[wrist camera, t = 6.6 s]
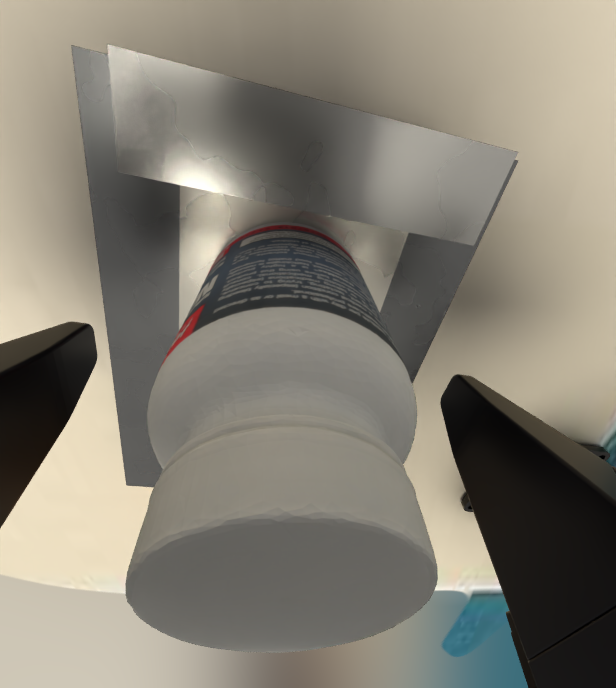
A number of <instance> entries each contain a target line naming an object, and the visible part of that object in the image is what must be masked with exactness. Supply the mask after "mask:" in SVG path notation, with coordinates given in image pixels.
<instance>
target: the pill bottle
mask: <svg viewBox="0 0 616 688" xmlns="http://www.w3.org/2000/svg"><path fill="white" fill-rule="evenodd" d="M147 422H148V433H149V437H150V441H151V445H152V448H153V450H154V453H155V455H156V457H157V460H158V462H159V463H160V465H161V467H162V468H163V470H162V473H161V475H160V477H159V480H158V481H157V482H156V484H155V486H154V489H153V491H152V494H151V497H150V500H149V505H148V510H147V513H146V516H145V519H144V522H143V525H142V528H141V531H140V534H139V537H138V540H137V543H136V546H135V549H134V552H133V556H132V559H131V562H130V565H129V568H128V572H127V578H126V597H127V602H128V603H129V604H130V605H131V606H132V608H133V610H134V612H135V613H136V615H137V616H139V618H140V619H142V620H143V621H144V622H146V623H147V624H149V625H150V626H152V627H153V628H155V629H157V630H159V631H160V632H162V633H165V634H167V635H169V636H171V637H174V638H176V639H179V640H181V641H185V642H188V643H192V644H196V645H200V646H205V647H211V648H217V649H225V650H234V651H243V652H266V653H276V652H277V653H278V652H293V651H306V650H312V649H319V648H325V647H331V646H336V645H341V644H345V643H350V642H353V641H357V640H361V639H364V638H367V637H371V636H374V635H376V634H378V633H381V632H383V631H386V630H388V629H390V628H393V627H394V626H396V625H397V624H399V623H401V622H403V621H404V620H406V619H408V618H409V617H411V616H412V615H414V614H415V613H416V612H417V611H418V610H420V609H421V608H422V607H423V606H424V605H425V604H426V603H427V602H428V601H429V599H430V598H431V596H432V594H433V592H434V590H435V587H436V585H437V579H438V577H437V564H436V559H435V555H434V551H433V548H432V545H431V541H430V538H429V535H428V532H427V529H426V525H425V522H424V519H423V516H422V513H421V510H420V507H419V504H418V501H417V498H416V493H415V490H414V487H413V485H412V483H411V481H410V479H409V478H408V476H407V474H406V471H405V468H404V466H403V464H404V462H405V460H406V458H407V456H408V454H409V452H410V449H411V446H412V443H413V440H414V435H415V429H416V422H417V406H416V399H415V394H414V390H413V386H412V383H411V381H410V377H409V374H408V371H407V369H406V367H405V364H404V362H403V360H402V358H401V356H400V354H399V352H398V350H397V348H396V345H395V343H394V341H393V339H392V337H391V335H390V333H389V331H388V329H387V327H386V325H385V322H384V320H383V318H382V316H381V314H380V312H379V310H378V308H377V306H376V304H375V302H374V300H373V297H372V295H371V293H370V291H369V289H368V287H367V285H366V283H365V281H364V279H363V276H362V274H361V272H360V270H359V268H358V266H357V265H356V263H355V261H354V260H353V258H352V257H351V255H350V254H349V252H348V251H347V250H346V249H345V248H344V247H343V246H342V245H341V244H340V243H339V242H338V241H337V240H335V239H334V238H333V237H331V236H330V235H328V234H326V233H324V232H323V231H321V230H318V229H316V228H313V227H311V226H308V225H303V224H299V223H291V222H277V223H270V224H265V225H261V226H258V227H255V228H252V229H250V230H248V231H246V232H244V233H242V234H240V235H239V236H237V237H236V238H235V239H233V240H232V241H231V242H230V243H229V244H228V245H227V246H225V247H224V249H223V250H222V251H221V252H220V254H219V255H218V257H217V258H216V260H215V261H214V263H213V265H212V266H211V268H210V271H209V273H208V275H207V277H206V279H205V281H204V283H203V284H202V287H201V289H200V291H199V293H198V295H197V297H196V299H195V301H194V303H193V305H192V307H191V309H190V311H189V313H188V315H187V317H186V319H185V321H184V323H183V325H182V327H181V329H180V330H179V332H178V334H177V336H176V338H175V340H174V342H173V344H172V345H171V347H170V349H169V351H168V353H167V355H166V357H165V359H164V361H163V363H162V365H161V368H160V370H159V372H158V375H157V377H156V380H155V383H154V385H153V388H152V391H151V395H150V399H149V403H148V411H147Z"/></svg>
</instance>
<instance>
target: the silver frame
mask: <svg viewBox="0 0 616 688" xmlns="http://www.w3.org/2000/svg"><path fill="white" fill-rule="evenodd" d="M71 47H72V55H73V63H74V71H75V79H76V87H77V95H78V103H79V111H80V119H81V127H82V135H83V143H84V151H85V159H86V167H87V175H88V183H89V191H90V199H91V207H92V215H93V223H94V231H95V239H96V247H97V255H98V263H99V271H100V279H101V287H102V295H103V303H104V311H105V319H106V327H107V335H108V343H109V351H110V359H111V367H112V375H113V383H114V391H115V399H116V407H117V415H118V423H119V431H120V439H121V446H122V454H123V462H124V470H125V478H126V485H128V486H143V487H154V486H155V484H156V482H157V481H158V480H159V477H160V475H161V473H162V470H163V468H162V467H161V465H160V463H159V462H158V460H157V457H156V455H155V453H154V450H153V448H152V445H151V441H150V437H149V433H148V422H147V411H148V403H149V399H150V395H151V391H152V388H153V385H154V383H155V380H156V377H157V375H158V372H159V370H160V368H161V365H162V363H163V361H164V359H165V357H166V355H167V353H168V351H169V349H170V347H171V345H172V344H173V342H174V340H175V338H176V336H177V334H178V332H179V330H180V329H181V327H182V325H183V323H184V321H185V319H186V317H187V315H188V313H189V311H190V309H191V307H192V305H193V303H194V301H195V299H196V297H197V295H198V293H199V291H200V289H201V287H202V284H203V283H204V281H205V279H206V277H207V275H208V273H209V271H210V268H211V266H212V265H213V263H214V261H215V260H216V258H217V257H218V255H219V254H220V252H221V251H222V250H223V249H224V247H225V246H227V245H228V244H229V243H230V242H231V241H232V240H233V239H235V238H236V237H237V236H239V235H240V234H242V233H244V232H246V231H248V230H250V229H252V228H255V227H258V226H261V225H265V224H270V223H277V222H291V223H299V224H303V225H308V226H311V227H313V228H316V229H318V230H321V231H323V232H324V233H326V234H328V235H330V236H331V237H333V238H334V239H335V240H337V241H338V242H339V243H340V244H341V245H342V246H343V247H344V248H345V249H346V250H347V251H348V252H349V254H350V255H351V257H352V258H353V260H354V261H355V263H356V265H357V266H358V268H359V270H360V272H361V274H362V276H363V279H364V281H365V283H366V285H367V287H368V289H369V291H370V293H371V295H372V297H373V300H374V302H375V304H376V306H377V308H378V310H379V312H380V314H381V316H382V318H383V320H384V322H385V325H386V327H387V329H388V331H389V333H390V335H391V337H392V339H393V341H394V343H395V345H396V348H397V350H398V352H399V354H400V356H401V358H402V360H403V362H404V364H405V367H406V369H407V371H408V374H409V377H410V381H411V383H413V381H414V379H415V376H416V374H417V372H418V370H419V368H420V366H421V364H422V362H423V360H424V358H425V356H426V353H427V351H428V349H429V347H430V345H431V343H432V341H433V339H434V337H435V335H436V332H437V330H438V328H439V326H440V324H441V322H442V320H443V318H444V316H445V314H446V311H447V309H448V307H449V305H450V303H451V301H452V299H453V297H454V295H455V293H456V290H457V288H458V286H459V284H460V282H461V280H462V278H463V276H464V274H465V272H466V270H467V267H468V265H469V263H470V261H471V259H472V257H473V255H474V253H475V251H476V249H477V246H478V244H479V242H480V240H481V238H482V236H483V234H484V232H485V230H486V228H487V225H488V223H489V221H490V219H491V217H492V215H493V213H494V211H495V209H496V207H497V204H498V202H499V200H500V198H501V196H502V194H503V192H504V190H505V188H506V186H507V184H508V181H509V179H510V177H511V175H512V173H513V171H514V169H515V167H516V165H517V163H518V160H515V158H516V156H517V153H518V152H516V151H512V150H508V149H504V148H500V147H497V146H493V145H489V144H485V143H481V142H478V141H474V140H470V139H466V138H462V137H459V136H455V135H451V134H447V133H443V132H440V131H436V130H432V129H428V128H424V127H421V126H417V125H413V124H409V123H405V122H402V121H398V120H394V119H390V118H386V117H383V116H379V115H375V114H371V113H367V112H364V111H360V110H356V109H352V108H348V107H345V106H341V105H337V104H333V103H329V102H326V101H322V100H318V99H314V98H310V97H307V96H303V95H299V94H295V93H291V92H288V91H284V90H280V89H276V88H272V87H269V86H265V85H261V84H257V83H254V82H250V81H246V80H242V79H238V78H235V77H231V76H227V75H223V74H219V73H216V72H212V71H208V70H204V69H200V68H197V67H193V66H189V65H185V64H181V63H178V62H174V61H170V60H166V59H162V58H159V57H155V56H151V55H147V54H143V53H140V52H136V51H132V50H128V49H124V48H121V47H117V46H113V45H109V44H107V47H108V54H104V53H100V52H96V51H92V50H89V49H85V48H81V47H77V46H73V45H71Z"/></svg>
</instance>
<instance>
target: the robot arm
mask: <svg viewBox="0 0 616 688" xmlns="http://www.w3.org/2000/svg"><path fill="white" fill-rule="evenodd" d="M96 361H97V350H96V343H95V336H94V330H93V328H92V326H91V325H89V324H86V323H79V322H67V323H64V324H61V325H58V326H55V327H52V328H48V329H45V330H42V331H39V332H36V333H33V334H30V335H27V336H24V337H21V338H18V339H14V340H11V341H8V342H5V343H2V344H0V528H1V526H2V525H3V523H4V522H5V520H6V519H7V517H8V515H9V514H10V512H11V511H12V509H13V508H14V506H15V504H16V503H17V501H18V500H19V498H20V497H21V495H22V493H23V492H24V490H25V489H26V487H27V485H28V484H29V482H30V481H31V479H32V478H33V476H34V474H35V473H36V471H37V470H38V468H39V467H40V465H41V463H42V462H43V460H44V459H45V457H46V456H47V454H48V452H49V451H50V449H51V448H52V446H53V445H54V443H55V441H56V440H57V438H58V437H59V435H60V433H61V432H62V430H63V429H64V427H65V425H66V424H67V422H68V420H69V419H70V417H71V415H72V413H73V411H74V409H75V407H76V404H77V402H78V400H79V398H80V396H81V394H82V392H83V390H84V388H85V385H86V383H87V381H88V379H89V377H90V375H91V373H92V371H93V369H94V367H95V364H96ZM441 409H442V413H443V417H444V421H445V425H446V429H447V433H448V437H449V441H450V445H451V449H452V452H453V456H454V459H455V462H456V465H457V468H458V470H459V473H460V476H461V479H462V481H463V484H464V487H465V490H466V492H467V495H466V496H465V497H464V499H463V500H462V502H461V504H462V506H463V508H464V510H465V511H468V512H474V514H475V517H476V520H477V523H478V525H479V528H480V531H481V534H482V536H483V539H484V542H485V545H486V547H487V550H488V553H489V556H490V558H491V561H492V564H493V567H494V569H495V572H496V575H497V577H498V580H499V583H500V586H501V588H502V591H503V594H504V597H505V599H506V602H507V605H508V608H509V610H510V611H508V612H506V616H507V619H508V622H509V625H510V628H511V631H512V632H511V635H512V638H513V641H514V645H515V647H516V650H517V654H518V657H519V660H520V663H521V666H522V669H523V672H524V675H525V678H526V681H527V684H528V688H616V468H615V467H611V465H610V464H609V463H607V462H606V460H607V459H608V458H609V457H610V454H609V453H608V452H607V451H606V450H605V449H604V448H603V447H598V446H589V445H580V444H577V443H576V442H574V441H573V440H571V439H570V438H568V437H566V436H565V435H563V434H562V433H560V432H558V431H557V430H555V429H554V428H552V427H551V426H549V425H547V424H546V423H544V422H543V421H541V420H539V419H538V418H536V417H535V416H533V415H532V414H530V413H528V412H527V411H525V410H524V409H522V408H521V407H519V406H517V405H516V404H514V403H513V402H511V401H509V400H508V399H506V398H505V397H503V396H502V395H500V394H498V393H497V392H495V391H494V390H492V389H491V388H489V387H487V386H486V385H484V384H483V383H481V382H479V381H478V380H476V379H475V378H473V377H471V376H467V375H459V374H457V375H455V376H453V377H452V379H451V381H450V382H449V384H448V386H447V388H446V390H445V391H444V393H443V395H442V397H441Z"/></svg>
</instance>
